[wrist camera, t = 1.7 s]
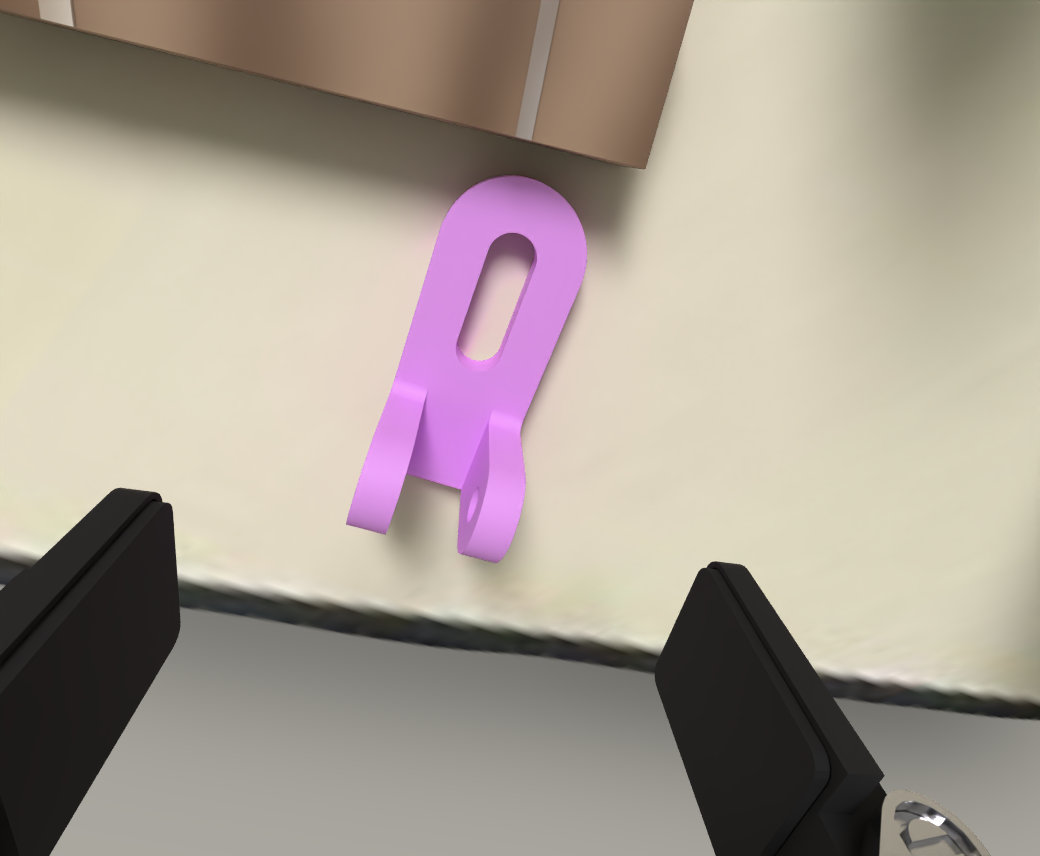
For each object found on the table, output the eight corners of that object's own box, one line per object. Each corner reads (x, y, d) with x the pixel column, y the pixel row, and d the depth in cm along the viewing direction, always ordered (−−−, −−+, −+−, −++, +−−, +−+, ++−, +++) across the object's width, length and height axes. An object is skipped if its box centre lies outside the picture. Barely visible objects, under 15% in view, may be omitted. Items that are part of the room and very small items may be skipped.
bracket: (490, 481, 26) (491, 584, 20) (374, 447, 25) (339, 545, 19) (604, 208, 21) (654, 233, 15) (465, 149, 20) (456, 150, 14)
